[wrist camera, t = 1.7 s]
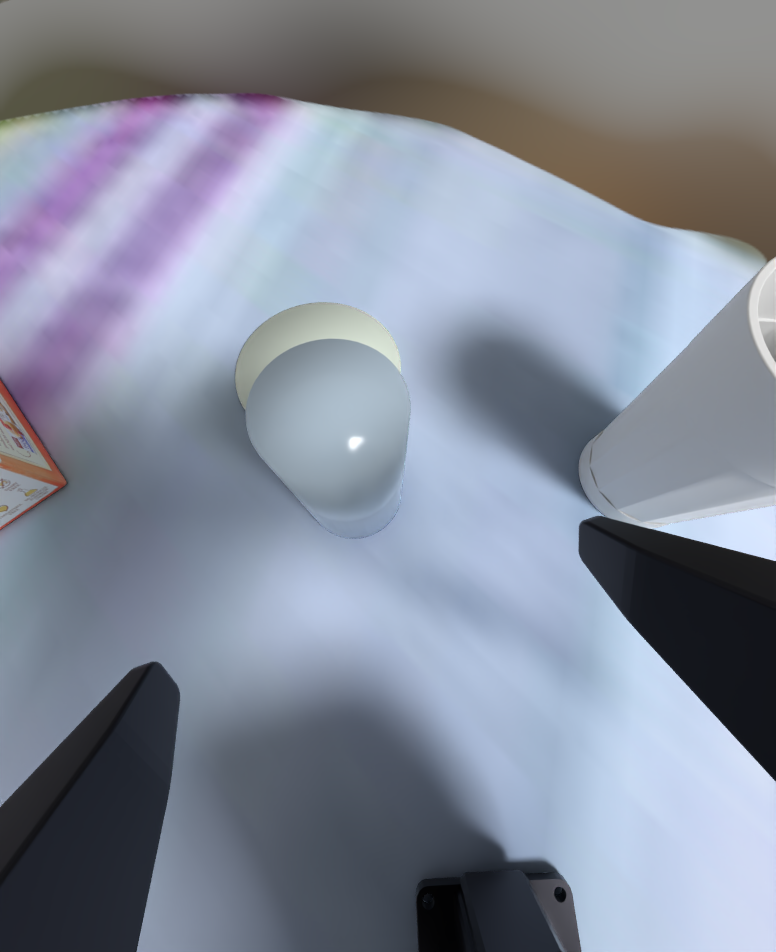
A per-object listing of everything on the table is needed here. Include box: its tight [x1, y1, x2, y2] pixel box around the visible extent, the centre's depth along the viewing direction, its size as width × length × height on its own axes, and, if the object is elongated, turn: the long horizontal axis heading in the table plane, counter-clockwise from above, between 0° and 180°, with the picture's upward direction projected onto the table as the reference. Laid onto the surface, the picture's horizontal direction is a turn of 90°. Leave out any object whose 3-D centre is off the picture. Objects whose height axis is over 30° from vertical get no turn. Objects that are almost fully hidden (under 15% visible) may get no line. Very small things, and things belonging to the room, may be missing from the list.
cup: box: [579, 257, 776, 529], centre depth 16 cm, size 8×8×12 cm
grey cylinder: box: [245, 339, 411, 538], centre depth 17 cm, size 6×6×10 cm
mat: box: [235, 302, 401, 411], centre depth 24 cm, size 11×11×1 cm
